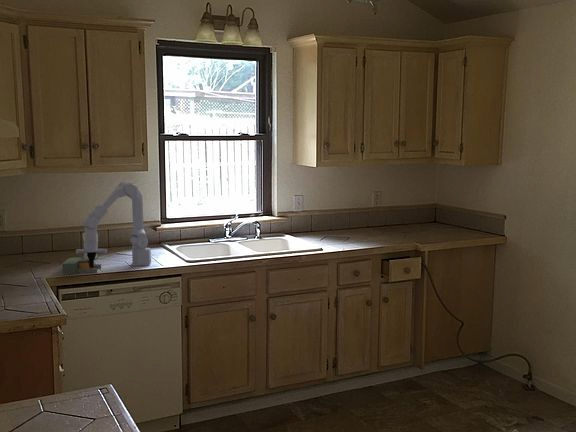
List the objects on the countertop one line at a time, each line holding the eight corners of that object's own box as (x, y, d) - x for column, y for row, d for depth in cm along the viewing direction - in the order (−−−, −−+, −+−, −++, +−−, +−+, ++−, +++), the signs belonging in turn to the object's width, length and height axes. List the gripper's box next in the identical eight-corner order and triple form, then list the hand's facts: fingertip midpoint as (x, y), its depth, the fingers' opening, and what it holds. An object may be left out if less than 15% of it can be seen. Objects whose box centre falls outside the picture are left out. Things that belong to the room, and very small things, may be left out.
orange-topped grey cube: (93, 268, 309) (92, 258, 308) (89, 270, 304) (87, 260, 303) (84, 268, 310) (83, 259, 309) (79, 271, 305) (78, 261, 304)
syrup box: (92, 257, 336) (91, 231, 334) (98, 258, 332) (97, 232, 330) (83, 258, 332) (82, 232, 330) (89, 260, 328) (88, 233, 326)
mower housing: (102, 267, 313) (101, 257, 313) (96, 273, 300) (95, 263, 299) (69, 267, 312) (69, 257, 311) (62, 273, 298) (62, 263, 297)
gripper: (107, 239, 308) (108, 265, 310) (77, 239, 307) (78, 265, 309) (105, 241, 302) (105, 268, 303) (74, 242, 300) (75, 269, 302)
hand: (92, 267), depth 306 cm, fingers closed, pressing on orange-topped grey cube
